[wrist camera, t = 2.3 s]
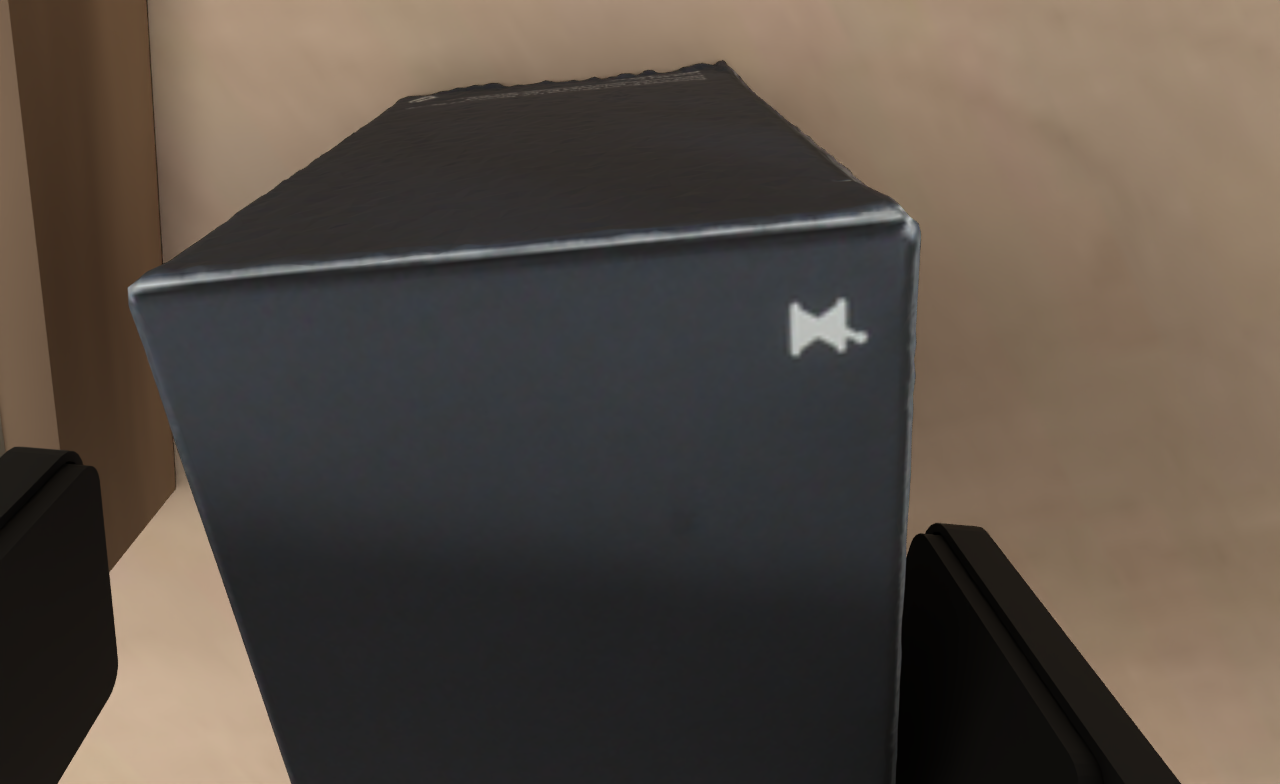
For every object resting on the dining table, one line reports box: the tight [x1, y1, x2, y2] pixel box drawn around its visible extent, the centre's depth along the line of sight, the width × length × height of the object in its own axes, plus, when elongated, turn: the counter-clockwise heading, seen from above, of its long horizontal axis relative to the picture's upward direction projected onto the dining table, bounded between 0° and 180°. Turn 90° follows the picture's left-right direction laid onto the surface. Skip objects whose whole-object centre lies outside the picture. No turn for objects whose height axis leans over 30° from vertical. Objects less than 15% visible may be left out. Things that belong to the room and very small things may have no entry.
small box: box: [128, 60, 921, 784], centre depth 14 cm, size 11×6×10 cm, turn 5°
